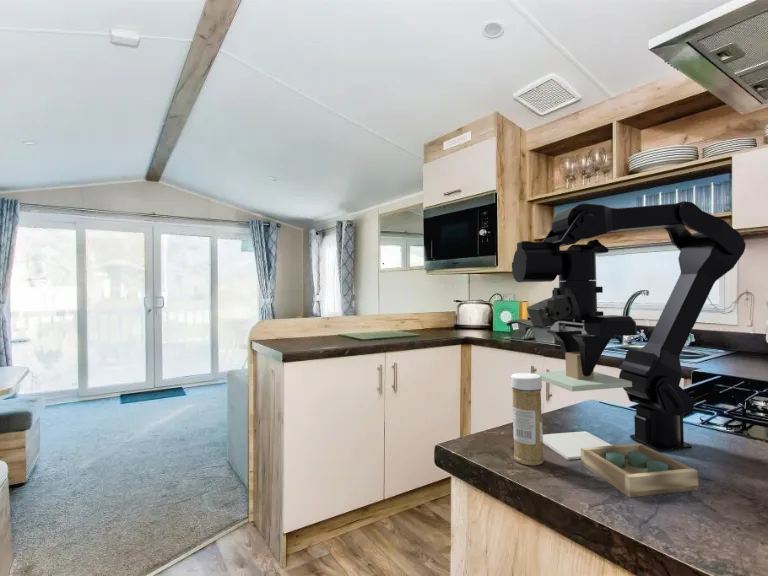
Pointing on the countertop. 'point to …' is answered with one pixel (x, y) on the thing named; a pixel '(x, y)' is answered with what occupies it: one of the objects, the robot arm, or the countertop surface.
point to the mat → (572, 443)
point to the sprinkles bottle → (527, 418)
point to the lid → (581, 377)
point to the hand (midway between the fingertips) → (580, 373)
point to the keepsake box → (639, 469)
